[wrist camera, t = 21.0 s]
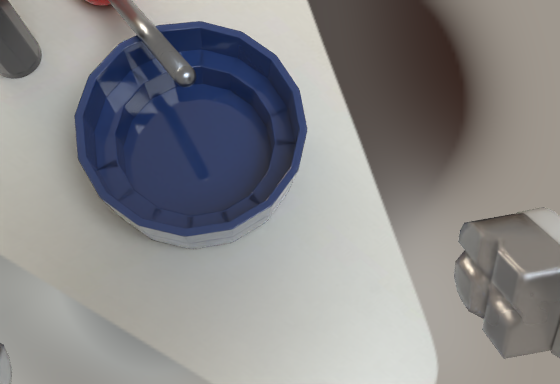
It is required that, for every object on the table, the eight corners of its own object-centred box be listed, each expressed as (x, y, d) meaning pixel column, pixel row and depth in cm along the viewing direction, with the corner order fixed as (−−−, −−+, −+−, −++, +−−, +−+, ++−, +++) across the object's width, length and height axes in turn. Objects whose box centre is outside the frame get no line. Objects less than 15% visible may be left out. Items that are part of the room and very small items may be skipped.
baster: (194, 27, 25) (86, -78, 37) (134, 86, 25) (47, -37, 37) (238, 76, 28) (127, -34, 40) (185, 128, 28) (90, 3, 40)
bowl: (270, 268, 35) (278, 259, 29) (73, 222, 34) (42, 203, 28) (310, 92, 38) (324, 52, 33) (133, 48, 38) (116, -1, 32)
